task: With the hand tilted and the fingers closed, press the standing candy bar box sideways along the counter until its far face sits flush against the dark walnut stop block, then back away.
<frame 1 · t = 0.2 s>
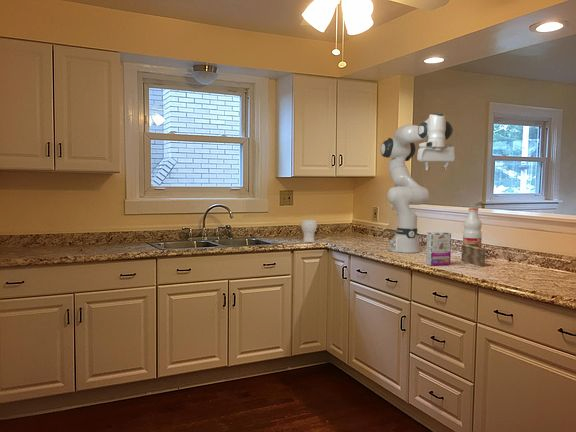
hand: (435, 170, 258), 48 cm above the worktop, tool pointing down, fingers open, 8 cm apart
stop block: (472, 263, 250), on the worktop
cup: (308, 242, 331), on the worktop
fruit juice: (471, 259, 265), on the worktop
candy bar box: (438, 265, 245), on the worktop
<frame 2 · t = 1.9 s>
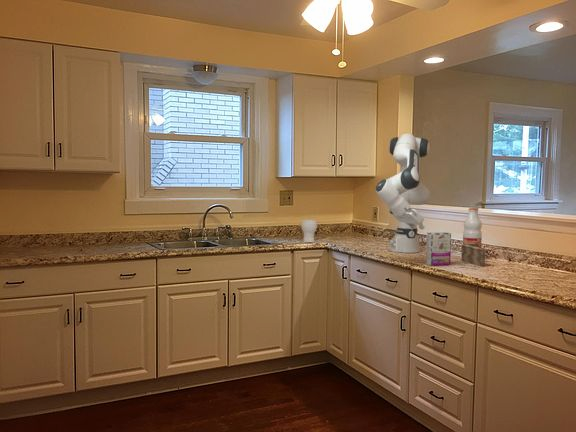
hand: (418, 227, 241), 19 cm above the worktop, tool tilted 45°, fingers open, 8 cm apart
nothing on the worktop moved.
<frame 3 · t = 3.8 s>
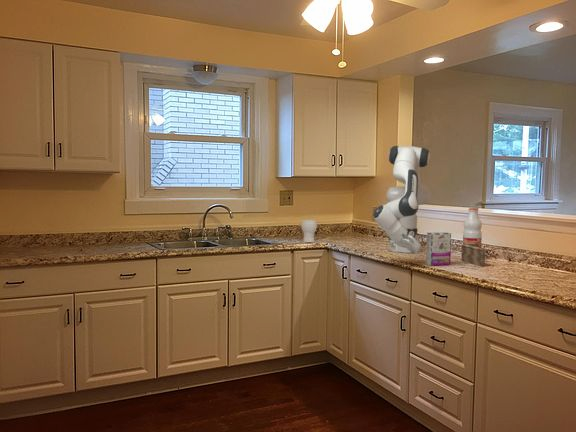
hand: (416, 253, 242), 6 cm above the worktop, tool tilted 45°, fingers closed
nothing on the worktop moved.
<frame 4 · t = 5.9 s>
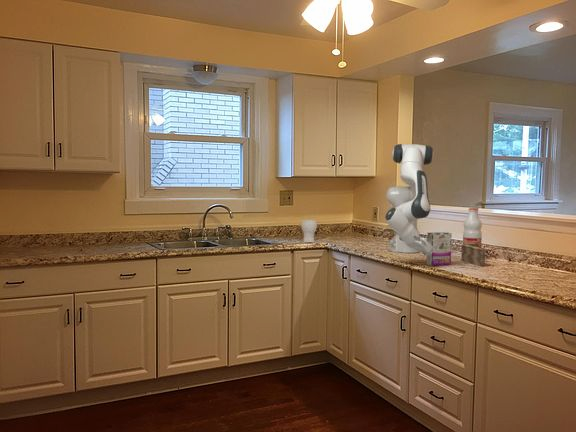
hand: (427, 254, 243), 5 cm above the worktop, tool tilted 45°, fingers closed
candy bar box: (438, 265, 245), on the worktop, touching gripper
everything else where it was.
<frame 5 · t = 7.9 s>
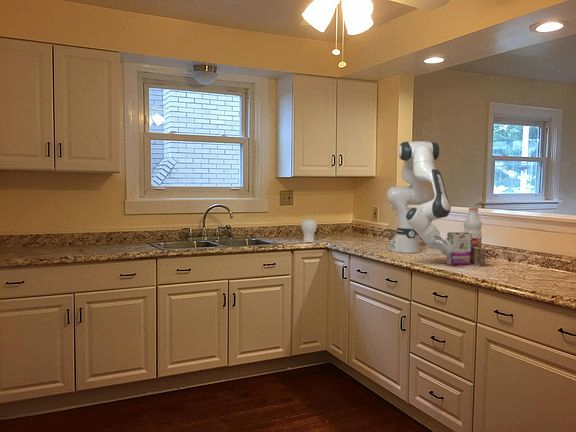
hand: (447, 254, 246), 5 cm above the worktop, tool tilted 45°, fingers closed, pressing on candy bar box
candy bar box: (458, 264, 247), on the worktop, touching gripper
everything else where it was.
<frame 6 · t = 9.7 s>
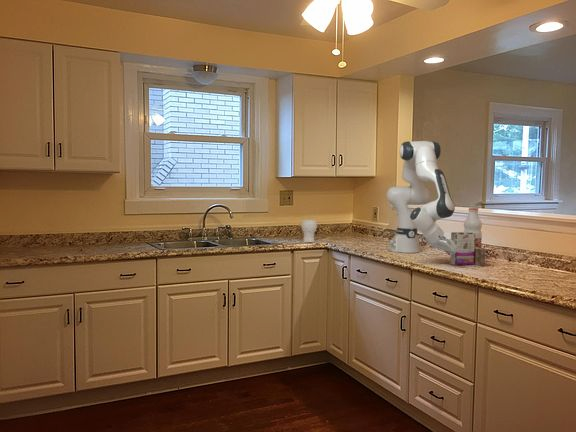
hand: (451, 254, 246), 5 cm above the worktop, tool tilted 45°, fingers closed, pressing on candy bar box
candy bar box: (462, 264, 247), on the worktop, touching gripper, stop block
everything else where it was.
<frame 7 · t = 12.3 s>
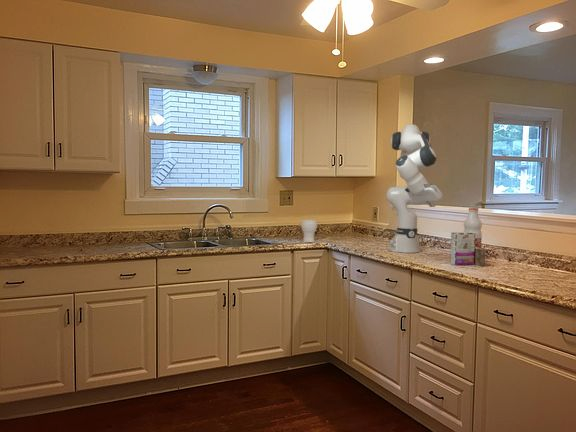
hand: (433, 206, 244), 30 cm above the worktop, tool tilted 40°, fingers closed
candy bar box: (462, 264, 247), on the worktop
everything else where it was.
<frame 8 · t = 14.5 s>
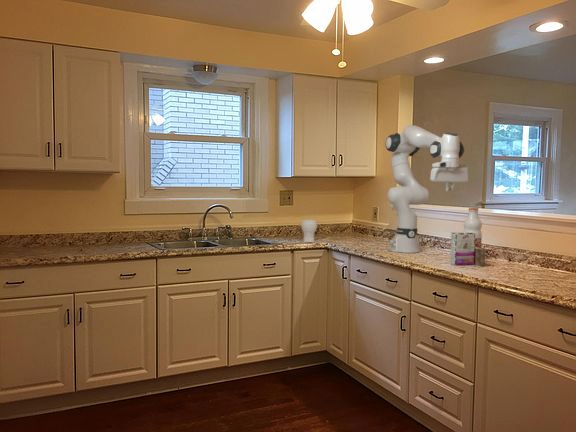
hand: (449, 191, 253), 37 cm above the worktop, tool pointing down, fingers closed
nothing on the worktop moved.
at the end: candy bar box inside the target area (0.6 cm from its centre), on the worktop; candy bar box tilted 0°; candy bar box moved 13.3 cm from its start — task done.
